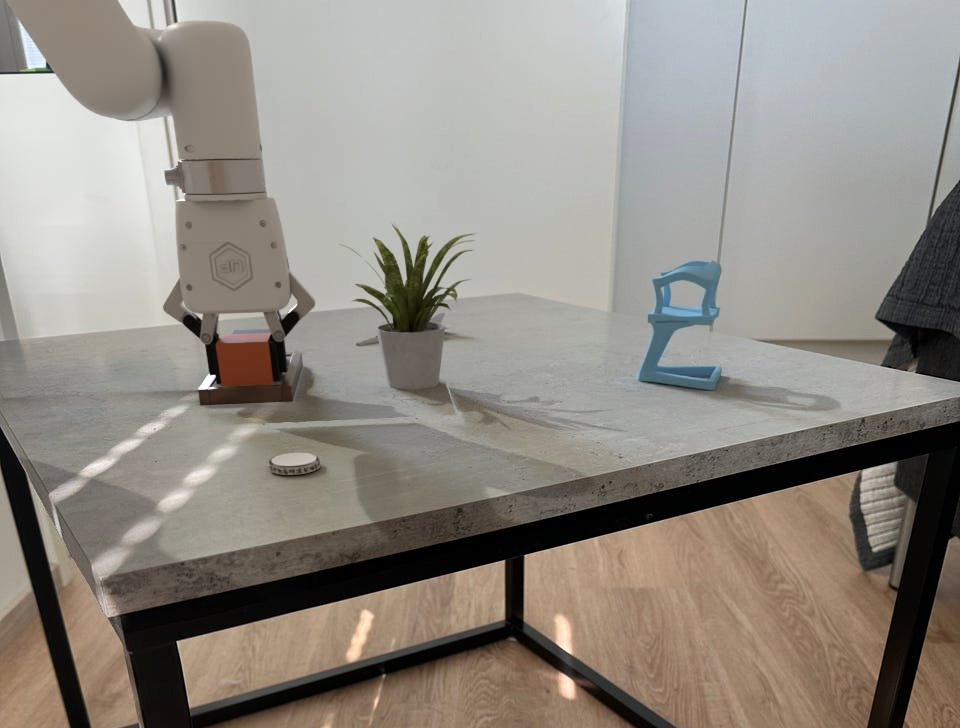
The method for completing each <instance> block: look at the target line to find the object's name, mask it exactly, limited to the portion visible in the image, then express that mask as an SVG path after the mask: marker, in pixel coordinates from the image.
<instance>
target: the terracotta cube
mask: <svg viewBox="0 0 960 728" xmlns="http://www.w3.org/2000/svg"><path fill="white" fill-rule="evenodd" d="M270 335H271V333H253V334H231V333H228V334H227V333H226V334H222V335H221V336H219V340H218V341H217V343H216V350H217V357H218V364H219V371H220V378H221V384H220V385H221V387H224V386H249V385H274V382H275V381H273V373H272V365H271V356H270V348H269V343H270V341H271V339H270Z"/></svg>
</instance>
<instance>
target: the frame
mask: <svg viewBox="0 0 960 728" xmlns="http://www.w3.org/2000/svg"><path fill="white" fill-rule="evenodd" d="M286 357H290V360H289V363H288V365H287V368H288V371H287V372H285V375H284V378H283V380H282V383H280V384H279V383H278V384H255V385H230V386H213V384H214V383H215V381H216V376H215V375H210V373H208V375H207V376H205V379H204V380H203V382H202V383H201V385H200V386H199V387H198V389H197V393H198V399H199V400H198V401H199V406H201V407H202V406H224V405H247V404H250V405H251V404H271V403H293V402H294V400H295V396H296V392H297V389H298V385H299V382H300V379H301V375H302V372H303V368H304V362H303V352H300V351H299V352H286Z"/></svg>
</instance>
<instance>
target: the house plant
mask: <svg viewBox="0 0 960 728" xmlns="http://www.w3.org/2000/svg"><path fill="white" fill-rule="evenodd" d="M391 226H392V228H394V231H395V232H396V235H398V237H399V239H400V242H401V246H402V253H403V257H404V265H405V275H406V280H405V283H404V280H403V276H402V273H401V269H400V267H399V264H398V260H397V259H396V256H395V254H394V253H393V252H392V251H391V250H390V249H389V248H388V247H387V246H386V244H384V243H383V241H382V240H380V239H378V238H375V237H374V236H373V237H372V239H373V241H374V243H375V245H376V247H377V249H378V252H379V254H380V256H381V258H380V257H379V256H378V254H377V253H376V252H375V251H373V254H374V256H375V258H376V260H377V264H378V265H379V268H380V269H381V271H382V272H383V274H384V280H383V279H382V278H381V276H380V275H379V274H378V272H377V271H376V270H375V268H373V267H372V265H371V264H370V263H369V262H368V261H366V263H367V264H368V265H369V267H370V268H372V270H373V271H374V273H376V275H377V276H378V278H379V279H380V280H381V282H382V283H383V285H384V289H385V290H386V292H385V293H383V292H381V291H380V290H378V289H376V288H373V287H372V286H369V285H365V284H361V283H354V285H355V286H356V287H358V288H361V289H363V291H365V292H366V293H367V294H369V295H370V296H372V297H374V299H377V300H378V301H379V302H380V303H381V305H382V306H383V307H384V308H385V309H386V310H387V312H389V313H390V315H391V316H392V322H390V321H389V319H388V317H387V315H386V314H385V312H384V311H383V310H382V308H380V307H379V306H378V305H376V304H375V303H373V302H372V301H370V300H368V299H366V298H355V299H353V300H351V301H350V302H349V303H350V304H351V303H352V302H357V303H363V304H366V305H368V306H371V307H372V308H374V309H376V310H377V311H378V312H379V313H380V314H381V315H382V317H383V318H384V319H385V320H386V323H383V324H380V325H377V326H376V328H375V329H376V330H375V331H376V336H377V335H378V340H379V342H378V343H379V344H378V345H379V349H380V353H381V358H382V362H383V368H384V371H385V376H386V380H387V385H388V387H390V388H392V389H396V390H407V391H408V390H410V391H411V390H412V391H413V390H415V391H416V390H426V389H430V388H434V387H436V386H438V385H439V382H440V373H441V367H442V366H441V364H442V359H443V358H442V357H443V350H444V341H445V334H444V333H446V329H445V328H446V325H444V324H443V323H441V324H440V323H436V322H429V321H430V319H432V318H433V317H434V315H435V313H436V311H437V310H438V308H439V307H443V308H447V309H448V310H449V311H452V309H451V308H450V306H449V304H447V303H445V302H443V301H444V300H445V299H446V298H447V296H450V297H451V298H452V299H454V300H455V302H457V298H458V293H457V291H456V290H457V289H456V287H457V286H458V285H459V284H461V283H463V282H467V281H470V280H472V278H469V279H462V280H458V281H456V282H454V283H453V284H452V285H450V286H449V287H443V286H439V285H440V283H441V281H442V279H443V278H444V276H445V274H446V272H447V271H448V269H449V268H450V266H451V265H452V264H453V262H455V261H456V260H457V259H458V257H460V256H461V255H462V254H464V253H467V252H468V253H469V252H472V251H473V249H465V250H462V251H459V252H457V253H456V254H454V255H453V256H452V257H451V258H450V259H449V260H448V261H447V262H446V264H445V265H444V267H443V268H442V270H441V272H440V274H439V275H438V278H437V280H436V282H435V284H434V286H433V287H432V288H431V289H430V290H429V291H428V288H429V286H430V284H431V282H432V280H433V278H434V276H435V274H436V272H437V270H438V268H439V267H440V265H441V263H442V262H443V260H444V258H445V256H446V255H447V253H448V252H449V251H450V250H451V249H452V248H453V247H455V246H457V245H460V244H462V243H468V242H469V243H470V242H476V240H474V239H473V240H471V239H470V240H468V239H467V240H463V241H459V240H461V239H463V238H466V237H468V236H473V235H474V233H467V234H461V235H458V236H456V237H453V238H452V239H450V240H449V241H447V242H446V243H445V244H444V245H443V246H442V248H440V250H438V252H437V254H436V255H435V257H434V258H433V260H432V263H431V264H430V267H429V269H428V271H427V274H426V276H425V277H424V274H425V269H426V263H427V259H428V256H429V251H431V250H429V248H431V247H432V245H433V242H431V243H430V244H428V240H429V238H430V237H431V235H428V236H427V235H423V236H422V237H420V240H419V241H418V244H417V250H416V254H415V258H414V263H413V259H412V253H411V250H410V247H409V244H408V242H407V240H406V239H405V237H404V235H403V234H402V233H401V231H400V230H399V228H398V225H396V223H395V222H393V223H391ZM476 234H478V232H477V233H475V235H476ZM458 241H459V242H458ZM339 245H340V246H342V247H346V248H347V249H350V251H352V252H353V253H355V254H356V255H358V256H359V257H361V255H360V254H359V253H358V252H357V251H355V250H354V249H352V248H350V247H348V246H346V245H345V244H340V243H339ZM381 259H382V260H381ZM444 289H445V291H444V292H443V293H441V294H437V293H438V292H439V291H441V290H444ZM427 291H428V292H427ZM426 292H427V293H426ZM436 294H437V295H436Z"/></svg>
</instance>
